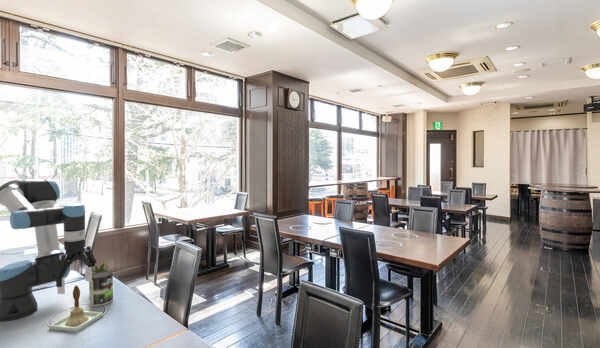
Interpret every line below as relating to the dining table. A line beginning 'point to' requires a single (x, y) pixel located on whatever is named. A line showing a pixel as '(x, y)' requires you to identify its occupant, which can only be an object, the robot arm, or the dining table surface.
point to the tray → (62, 327)
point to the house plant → (100, 268)
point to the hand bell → (76, 311)
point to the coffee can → (101, 288)
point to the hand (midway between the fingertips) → (75, 286)
